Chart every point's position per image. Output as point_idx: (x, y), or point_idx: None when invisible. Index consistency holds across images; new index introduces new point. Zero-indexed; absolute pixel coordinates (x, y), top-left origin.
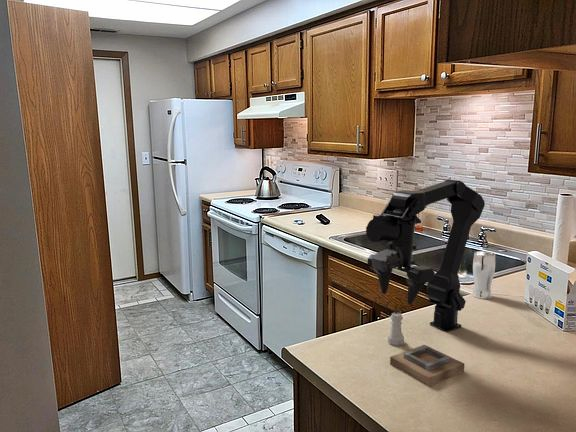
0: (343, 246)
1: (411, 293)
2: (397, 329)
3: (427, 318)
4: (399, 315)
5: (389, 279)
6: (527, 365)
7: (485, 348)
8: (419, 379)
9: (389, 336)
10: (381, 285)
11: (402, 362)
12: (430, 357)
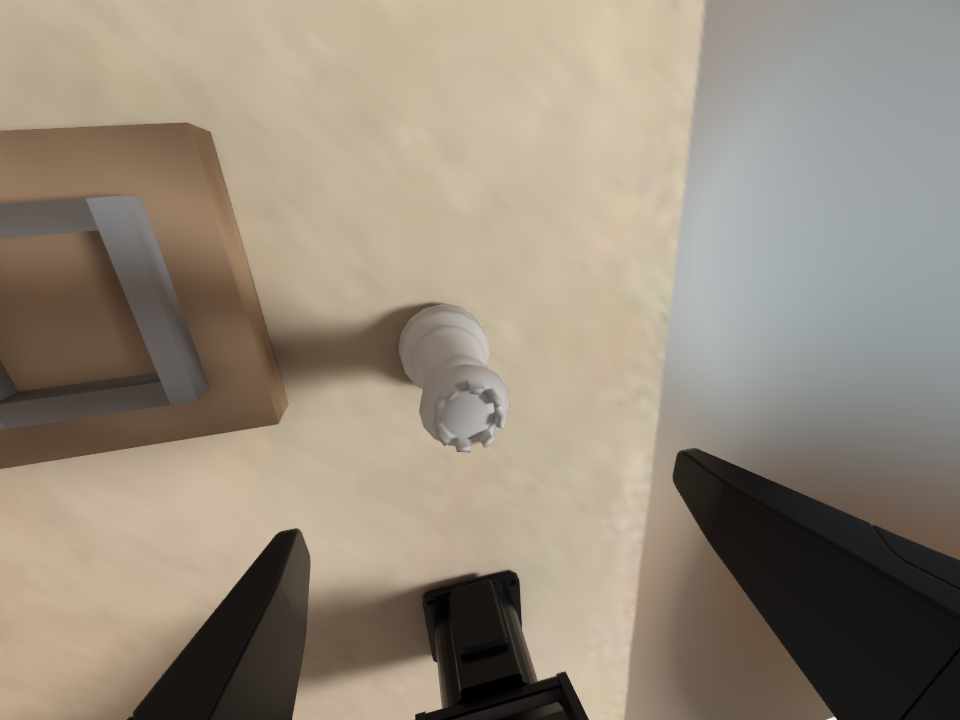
0: None
1: (144, 712)
2: (427, 366)
3: (563, 590)
4: (456, 431)
5: (802, 664)
6: (15, 692)
7: None
8: None
9: (456, 319)
10: (780, 501)
11: (66, 137)
12: (99, 355)
